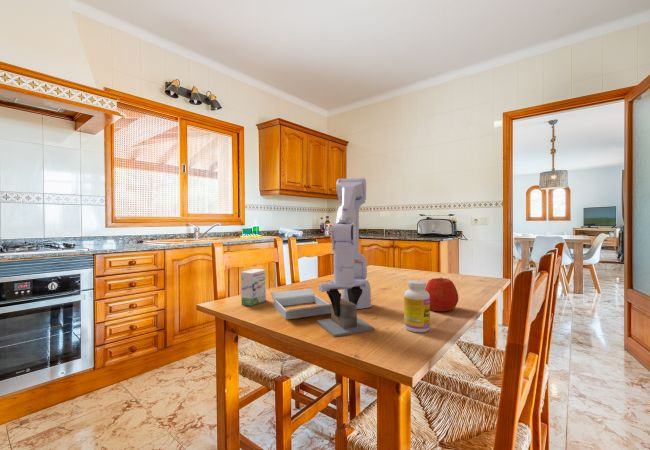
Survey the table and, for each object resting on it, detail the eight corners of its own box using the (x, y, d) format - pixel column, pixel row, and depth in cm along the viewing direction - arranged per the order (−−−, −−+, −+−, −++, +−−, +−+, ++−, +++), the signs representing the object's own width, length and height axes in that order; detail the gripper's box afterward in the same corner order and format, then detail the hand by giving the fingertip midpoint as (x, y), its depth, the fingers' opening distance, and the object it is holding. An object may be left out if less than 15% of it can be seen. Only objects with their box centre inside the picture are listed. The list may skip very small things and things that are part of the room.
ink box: (251, 306, 106) (251, 272, 106) (240, 304, 108) (240, 271, 108) (266, 300, 114) (266, 269, 113) (256, 299, 116) (255, 268, 116)
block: (343, 318, 90) (343, 298, 90) (356, 327, 83) (356, 305, 82) (331, 320, 88) (331, 299, 88) (343, 329, 81) (343, 306, 81)
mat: (353, 317, 93) (353, 315, 93) (374, 329, 82) (374, 327, 82) (316, 322, 88) (316, 320, 88) (334, 337, 77) (334, 334, 77)
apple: (453, 316, 92) (453, 281, 92) (418, 310, 99) (418, 278, 99) (462, 308, 101) (461, 276, 101) (429, 303, 107) (429, 273, 107)
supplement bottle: (426, 335, 78) (426, 285, 78) (401, 330, 81) (400, 282, 81) (432, 327, 84) (432, 280, 83) (408, 323, 87) (408, 278, 87)
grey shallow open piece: (311, 299, 115) (311, 288, 115) (336, 316, 94) (336, 303, 94) (271, 303, 109) (271, 292, 109) (289, 323, 88) (289, 309, 88)
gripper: (325, 270, 78) (326, 322, 78) (373, 266, 84) (374, 315, 84) (315, 266, 85) (316, 315, 85) (361, 263, 90) (361, 308, 91)
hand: (344, 314), depth 85 cm, fingers closed on block, 4 cm apart
